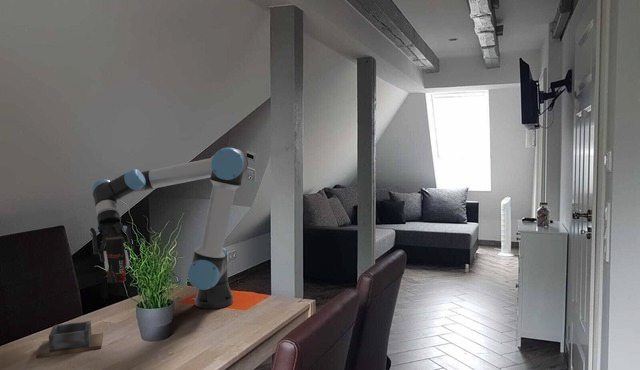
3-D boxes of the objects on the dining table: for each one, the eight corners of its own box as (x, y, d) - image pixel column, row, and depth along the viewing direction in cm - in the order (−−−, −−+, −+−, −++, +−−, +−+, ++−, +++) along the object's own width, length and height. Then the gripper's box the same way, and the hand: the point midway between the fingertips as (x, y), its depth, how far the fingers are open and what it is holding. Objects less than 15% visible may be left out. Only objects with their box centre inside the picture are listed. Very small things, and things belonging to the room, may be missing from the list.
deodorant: (119, 283, 164) (117, 239, 164) (103, 283, 166) (101, 239, 165) (129, 279, 170) (127, 236, 169) (114, 278, 171) (112, 236, 171)
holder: (103, 335, 165) (102, 318, 165) (101, 348, 154) (100, 329, 154) (43, 344, 159) (41, 326, 158) (36, 358, 147) (35, 338, 147)
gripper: (134, 219, 185) (145, 269, 172) (79, 224, 175) (86, 278, 162) (136, 206, 180) (148, 257, 167) (79, 210, 170) (87, 265, 157)
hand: (117, 267), depth 164 cm, fingers closed on deodorant, 6 cm apart
